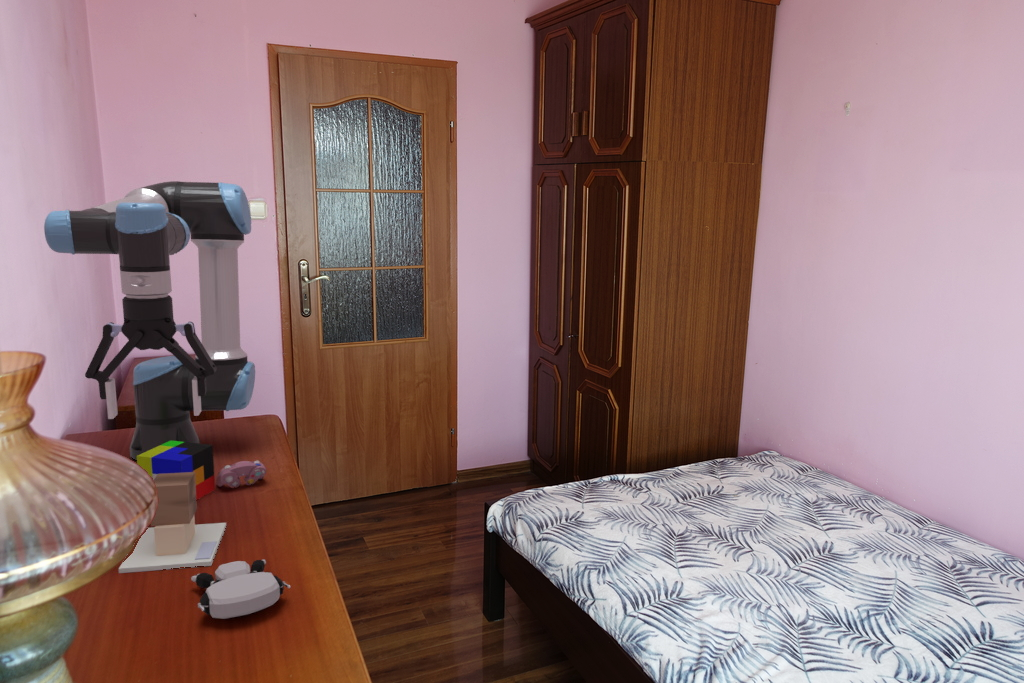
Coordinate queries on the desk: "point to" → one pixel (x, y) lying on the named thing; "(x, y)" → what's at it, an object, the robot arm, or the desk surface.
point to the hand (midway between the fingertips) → (156, 415)
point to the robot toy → (238, 589)
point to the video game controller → (241, 473)
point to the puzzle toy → (182, 462)
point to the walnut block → (175, 498)
